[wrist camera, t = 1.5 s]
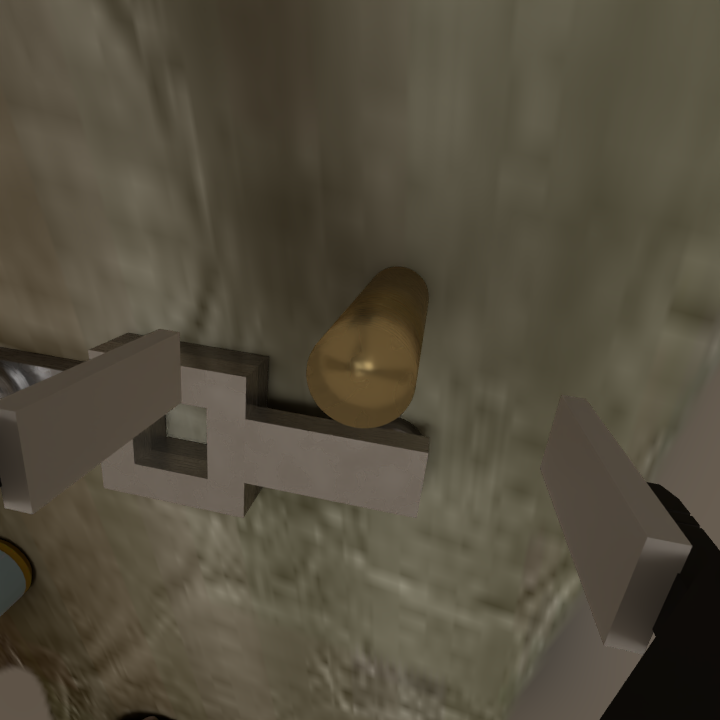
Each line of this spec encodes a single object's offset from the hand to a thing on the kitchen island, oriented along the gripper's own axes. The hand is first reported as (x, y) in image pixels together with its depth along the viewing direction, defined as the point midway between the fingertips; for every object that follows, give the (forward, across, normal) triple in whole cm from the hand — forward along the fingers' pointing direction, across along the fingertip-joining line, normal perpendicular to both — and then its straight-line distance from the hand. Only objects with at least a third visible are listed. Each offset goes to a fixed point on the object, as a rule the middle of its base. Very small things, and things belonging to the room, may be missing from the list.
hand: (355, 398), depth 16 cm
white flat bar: (+15, -14, -10) cm, 23 cm away
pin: (+15, 0, 0) cm, 15 cm away
